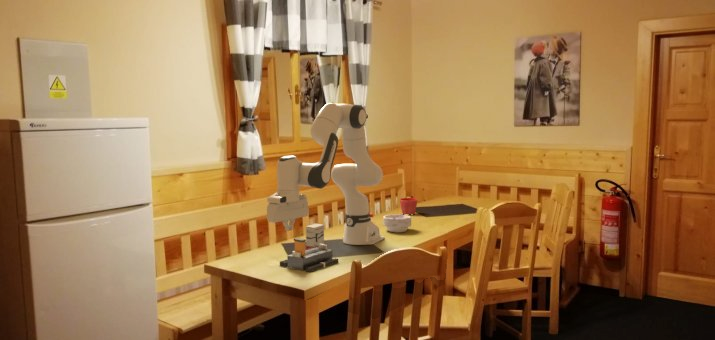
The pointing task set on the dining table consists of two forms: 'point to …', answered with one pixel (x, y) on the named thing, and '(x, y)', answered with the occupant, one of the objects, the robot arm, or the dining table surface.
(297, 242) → the orange upright block
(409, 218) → the paper bowls
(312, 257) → the grey machine base
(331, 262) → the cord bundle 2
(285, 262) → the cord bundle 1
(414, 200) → the flower pot
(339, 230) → the dining table surface
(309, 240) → the ink box
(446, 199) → the dining table surface
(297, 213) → the robot arm
